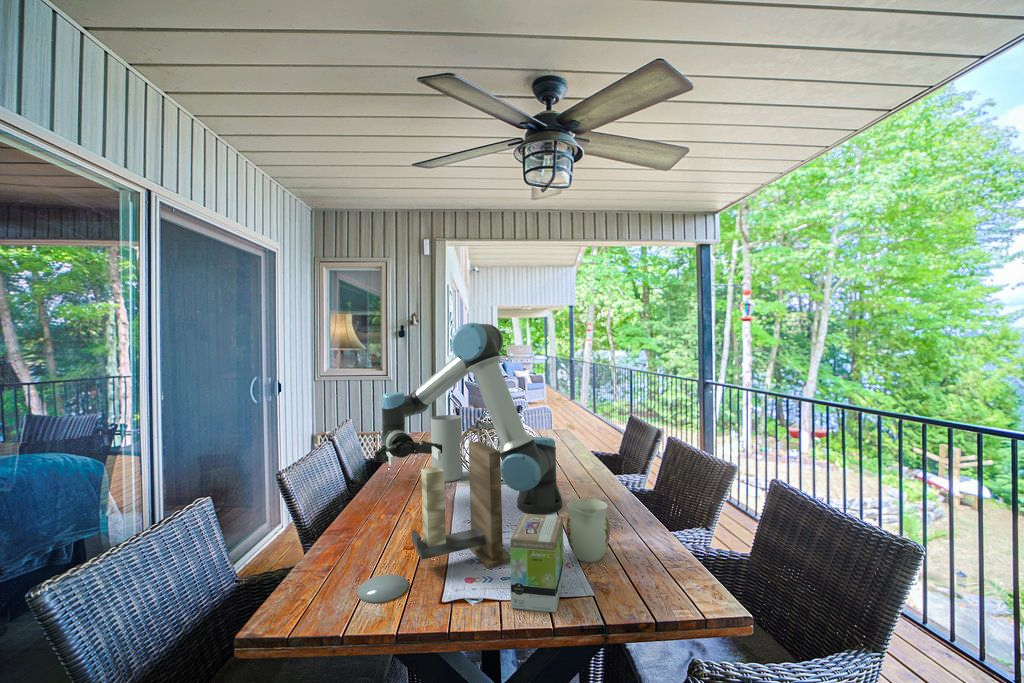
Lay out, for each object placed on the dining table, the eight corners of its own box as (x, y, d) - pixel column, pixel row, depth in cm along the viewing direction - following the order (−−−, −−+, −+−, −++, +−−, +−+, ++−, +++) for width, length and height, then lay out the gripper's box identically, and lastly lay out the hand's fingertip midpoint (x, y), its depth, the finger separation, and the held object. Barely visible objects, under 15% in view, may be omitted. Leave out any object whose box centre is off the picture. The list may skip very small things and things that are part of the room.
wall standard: (488, 538, 130) (485, 439, 130) (513, 562, 116) (510, 450, 116) (407, 557, 120) (404, 450, 120) (424, 586, 106) (421, 464, 106)
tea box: (558, 614, 94) (556, 541, 94) (509, 609, 96) (507, 538, 96) (564, 576, 108) (563, 513, 108) (522, 573, 110) (521, 511, 110)
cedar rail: (440, 536, 118) (438, 466, 118) (445, 543, 114) (444, 470, 114) (423, 540, 116) (421, 469, 116) (428, 547, 112) (426, 473, 112)
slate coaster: (408, 574, 111) (408, 571, 111) (407, 598, 101) (407, 596, 101) (360, 580, 109) (360, 577, 109) (354, 606, 98) (354, 603, 98)
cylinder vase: (460, 482, 184) (459, 419, 184) (429, 482, 184) (427, 420, 184) (464, 473, 196) (462, 414, 196) (435, 473, 196) (433, 415, 196)
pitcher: (606, 539, 127) (605, 490, 127) (613, 572, 110) (612, 514, 110) (566, 539, 129) (565, 489, 129) (567, 571, 111) (565, 514, 111)
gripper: (437, 450, 156) (458, 465, 137) (360, 460, 145) (371, 478, 126) (436, 428, 156) (457, 440, 137) (359, 436, 145) (370, 450, 126)
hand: (416, 458), depth 131 cm, fingers open, 13 cm apart
